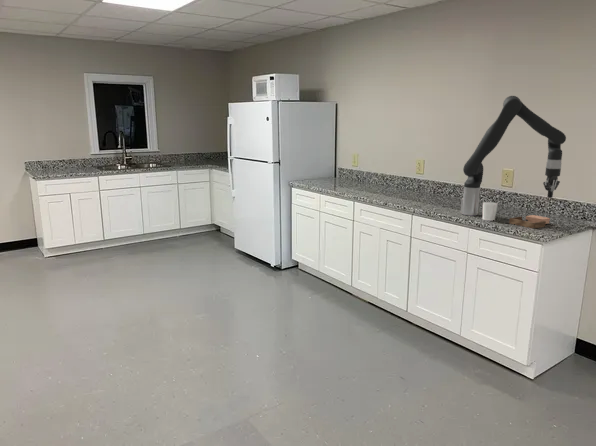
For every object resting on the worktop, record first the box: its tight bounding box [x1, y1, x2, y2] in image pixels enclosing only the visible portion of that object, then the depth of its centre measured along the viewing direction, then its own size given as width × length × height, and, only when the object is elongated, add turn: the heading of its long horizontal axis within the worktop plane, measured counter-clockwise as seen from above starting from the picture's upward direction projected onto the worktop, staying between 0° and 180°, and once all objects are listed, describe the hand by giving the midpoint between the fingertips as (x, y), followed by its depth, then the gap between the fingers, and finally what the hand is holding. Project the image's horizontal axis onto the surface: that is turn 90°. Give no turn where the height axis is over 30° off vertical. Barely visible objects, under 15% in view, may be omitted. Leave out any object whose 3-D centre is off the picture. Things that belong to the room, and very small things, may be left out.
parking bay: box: [508, 216, 546, 229], centre depth 260 cm, size 15×10×3 cm
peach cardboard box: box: [524, 214, 551, 225], centre depth 265 cm, size 10×7×4 cm
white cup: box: [482, 201, 498, 222], centre depth 272 cm, size 8×8×10 cm
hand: (549, 197), depth 267 cm, fingers closed
